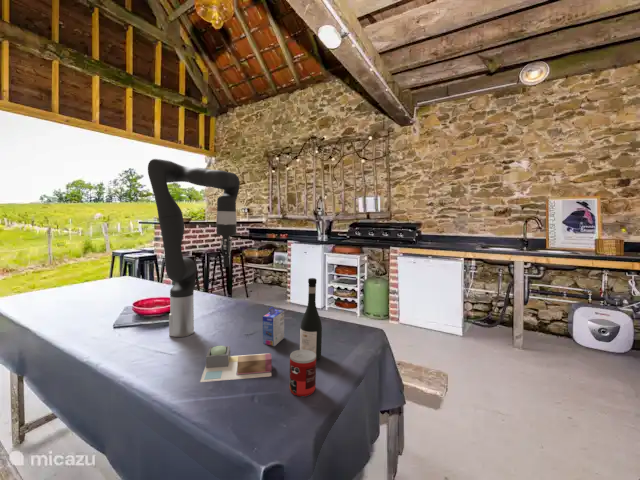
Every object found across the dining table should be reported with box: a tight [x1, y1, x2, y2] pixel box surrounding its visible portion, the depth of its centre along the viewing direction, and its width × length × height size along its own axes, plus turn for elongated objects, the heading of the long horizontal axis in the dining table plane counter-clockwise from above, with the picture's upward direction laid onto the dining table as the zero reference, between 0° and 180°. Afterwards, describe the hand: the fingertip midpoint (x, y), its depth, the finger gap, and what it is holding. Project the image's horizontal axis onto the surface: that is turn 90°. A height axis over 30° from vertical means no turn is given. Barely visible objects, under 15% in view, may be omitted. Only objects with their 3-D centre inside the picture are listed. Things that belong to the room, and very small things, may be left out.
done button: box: [211, 345, 226, 355], centre depth 103 cm, size 5×5×4 cm
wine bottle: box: [299, 277, 323, 361], centre depth 109 cm, size 8×8×30 cm
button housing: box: [205, 345, 231, 368], centre depth 103 cm, size 7×7×4 cm
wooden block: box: [237, 353, 273, 374], centre depth 99 cm, size 11×4×4 cm, turn 102°
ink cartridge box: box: [262, 306, 285, 347], centre depth 123 cm, size 10×6×14 cm, turn 161°
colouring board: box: [199, 353, 272, 383], centre depth 101 cm, size 22×16×1 cm
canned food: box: [289, 349, 317, 397], centre depth 89 cm, size 8×8×11 cm
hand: (226, 266), depth 117 cm, fingers closed
